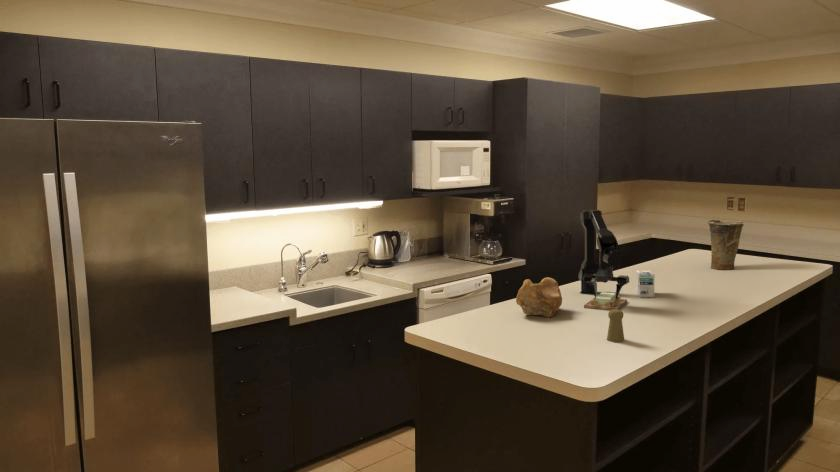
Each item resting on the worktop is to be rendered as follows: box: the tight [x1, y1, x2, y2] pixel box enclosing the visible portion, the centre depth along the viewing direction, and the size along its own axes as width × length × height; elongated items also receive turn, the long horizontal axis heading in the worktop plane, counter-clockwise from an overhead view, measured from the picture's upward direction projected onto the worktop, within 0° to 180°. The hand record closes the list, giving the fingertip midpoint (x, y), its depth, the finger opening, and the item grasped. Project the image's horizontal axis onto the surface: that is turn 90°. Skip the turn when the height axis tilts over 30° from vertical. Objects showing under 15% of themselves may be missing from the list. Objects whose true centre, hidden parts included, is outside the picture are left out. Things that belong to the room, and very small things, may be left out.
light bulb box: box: [636, 269, 655, 298], centre depth 293 cm, size 11×7×11 cm, turn 168°
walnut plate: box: [583, 293, 628, 312], centre depth 276 cm, size 14×18×3 cm
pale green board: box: [596, 292, 616, 306], centre depth 276 cm, size 6×12×3 cm, turn 151°
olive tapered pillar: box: [606, 309, 625, 343], centre depth 224 cm, size 6×6×11 cm
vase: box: [707, 219, 745, 271], centre depth 349 cm, size 18×18×27 cm
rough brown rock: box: [515, 276, 563, 319], centre depth 263 cm, size 23×17×15 cm
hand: (605, 297), depth 276 cm, fingers open, 9 cm apart
